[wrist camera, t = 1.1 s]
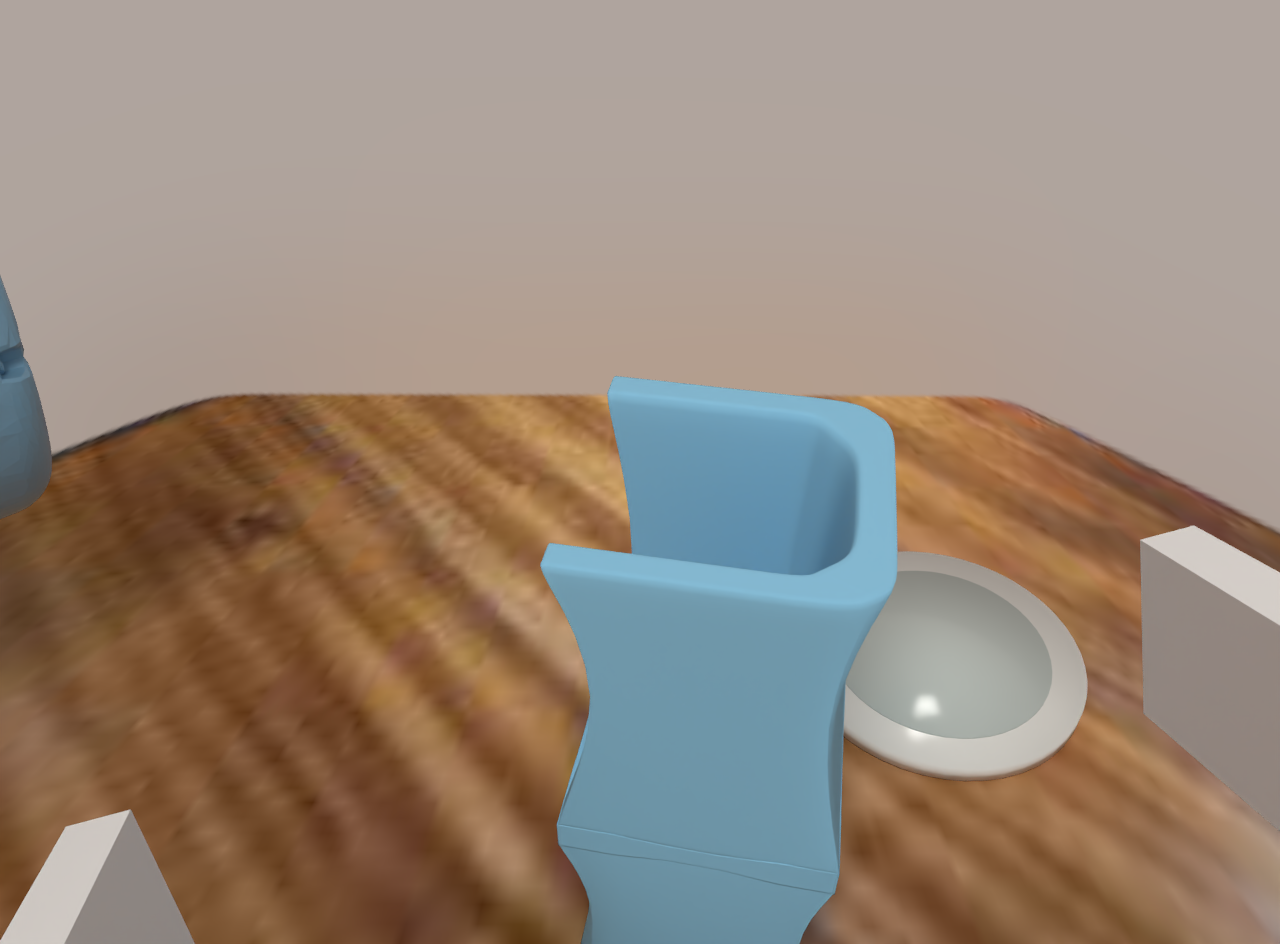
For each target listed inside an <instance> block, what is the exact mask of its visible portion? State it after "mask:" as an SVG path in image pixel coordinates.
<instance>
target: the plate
mask: <svg viewBox="0 0 1280 944" xmlns="http://www.w3.org/2000/svg"><path fill="white" fill-rule="evenodd" d="M1086 698H1087V676H1086V669H1085V665H1084V662H1083V659H1082V656H1081V653H1080V651H1079V649H1078V647H1077V645H1076V643H1075V641H1074V639H1073V637H1072V636H1071V634H1070V633H1069V631H1068V630H1067V628H1066V627H1065V625H1064V624H1063V623H1062V622H1061V621H1060V620H1059V618H1058V617H1057V616H1056V615H1055V614H1054V613H1053V612H1052V611H1051V610H1050V609H1049V608H1048V607H1047V606H1046V605H1045V604H1044V603H1043V602H1042V601H1041V600H1039V599H1038V598H1037V597H1035V596H1034V595H1033V594H1032V593H1030V592H1029V591H1028V590H1026V589H1025V588H1023V587H1021V586H1020V585H1018V584H1017V583H1015V582H1014V581H1012V580H1010V579H1008V578H1006V577H1004V576H1002V575H1001V574H999V573H997V572H994V571H992V570H990V569H987V568H985V567H983V566H980V565H977V564H974V563H971V562H968V561H965V560H962V559H958V558H954V557H950V556H945V555H939V554H933V553H924V552H897V577H896V582H895V585H894V588H893V590H892V593H891V595H890V596H889V598H888V600H887V602H886V603H885V605H884V607H883V608H882V610H881V612H880V613H879V615H878V617H877V618H876V620H875V622H874V623H873V625H872V627H871V629H870V630H869V632H868V634H867V636H866V638H865V640H864V642H863V644H862V645H861V647H860V649H859V651H858V653H857V655H856V657H855V660H854V662H853V664H852V667H851V669H850V671H849V674H848V676H847V678H846V685H845V710H844V733H843V736H844V737H845V738H846V739H847V740H849V741H850V742H852V743H853V744H855V745H856V746H858V747H859V748H861V749H862V750H864V751H865V752H867V753H869V754H871V755H873V756H875V757H876V758H878V759H880V760H882V761H885V762H887V763H889V764H892V765H894V766H896V767H899V768H901V769H904V770H908V771H911V772H914V773H917V774H920V775H925V776H930V777H935V778H940V779H947V780H957V781H987V780H994V779H1001V778H1006V777H1010V776H1014V775H1017V774H1021V773H1024V772H1026V771H1028V770H1031V769H1033V768H1035V767H1038V766H1039V765H1041V764H1042V763H1044V762H1046V761H1047V760H1049V759H1050V758H1052V757H1053V756H1054V755H1055V754H1056V753H1057V752H1058V751H1059V750H1061V749H1062V748H1063V747H1064V745H1065V744H1066V743H1067V741H1068V740H1069V739H1070V737H1071V736H1072V734H1073V732H1074V730H1075V728H1076V726H1077V724H1078V722H1079V719H1080V717H1081V715H1082V713H1083V710H1084V706H1085V702H1086Z"/></svg>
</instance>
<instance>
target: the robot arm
mask: <svg viewBox="0 0 1280 944" xmlns="http://www.w3.org/2000/svg"><path fill="white" fill-rule="evenodd" d="M23 352H24V348H23V345H22V342H21V339H20V336H19V332H18V326H17V322H16V319H15V316H14V313H13V310H12V307H11V304H10V301H9V299H8V296H7V293H6V290H5V288H4V285H3V282H2V279H1V277H0V519H2V518H4V517H7V516H9V515H12V514H15V513H17V512H19V511H22V510H24V509H26V508H27V507H29V506H30V505H32V504H33V503H34V502H35V501H36V500H37V499H38V498H39V497H40V496H41V495H42V494H43V492H44V491H45V489H46V487H47V485H48V483H49V480H50V477H51V472H52V455H51V447H50V441H49V436H48V431H47V426H46V422H45V417H44V413H43V409H42V405H41V401H40V398H39V394H38V391H37V388H36V384H35V381H34V378H33V374H32V372H31V369H30V367H29V365H28V362H27V361H26V360H25V358H24V357H23ZM1140 548H1141V600H1142V652H1143V705H1144V714H1145V715H1146V716H1147V717H1148V718H1149V719H1150V720H1152V721H1153V722H1154V723H1155V724H1156V725H1157V726H1158V727H1160V728H1161V729H1162V730H1163V731H1164V732H1165V733H1167V734H1168V735H1169V736H1170V737H1171V738H1172V739H1173V740H1175V741H1176V742H1177V743H1178V744H1179V745H1180V746H1182V747H1183V748H1184V749H1185V750H1186V751H1187V752H1188V753H1190V754H1191V755H1192V756H1193V757H1194V758H1195V759H1197V760H1198V761H1199V762H1200V763H1201V764H1202V765H1203V766H1205V767H1206V768H1207V769H1208V770H1209V771H1210V772H1212V773H1213V774H1214V775H1215V776H1216V777H1217V778H1218V779H1220V780H1221V781H1222V782H1223V783H1224V784H1225V785H1227V786H1228V787H1229V788H1230V789H1231V790H1232V791H1233V792H1235V793H1236V794H1237V795H1238V796H1239V797H1240V798H1242V799H1243V800H1244V801H1245V802H1246V803H1247V804H1248V805H1250V806H1251V807H1252V808H1253V809H1254V810H1255V811H1257V812H1258V813H1259V814H1260V815H1261V816H1262V817H1263V818H1265V819H1266V820H1267V821H1268V822H1269V823H1270V824H1272V825H1273V826H1274V827H1275V828H1276V829H1277V830H1278V831H1280V573H1279V572H1278V571H1276V570H1274V569H1272V568H1270V567H1268V566H1267V565H1265V564H1263V563H1261V562H1259V561H1258V560H1256V559H1254V558H1252V557H1250V556H1248V555H1247V554H1245V553H1243V552H1241V551H1239V550H1237V549H1236V548H1234V547H1232V546H1230V545H1228V544H1227V543H1225V542H1223V541H1221V540H1219V539H1217V538H1216V537H1214V536H1212V535H1210V534H1208V533H1206V532H1205V531H1203V530H1201V529H1199V528H1197V527H1196V526H1191V527H1187V528H1183V529H1179V530H1176V531H1172V532H1168V533H1164V534H1161V535H1157V536H1153V537H1149V538H1146V539H1142V540H1140ZM0 944H195V943H194V941H193V939H192V937H191V934H190V932H189V930H188V928H187V926H186V924H185V922H184V920H183V918H182V916H181V914H180V911H179V909H178V907H177V905H176V903H175V901H174V899H173V897H172V895H171V893H170V891H169V888H168V886H167V884H166V882H165V880H164V878H163V876H162V874H161V872H160V870H159V868H158V865H157V863H156V861H155V859H154V857H153V855H152V853H151V851H150V849H149V847H148V845H147V842H146V840H145V838H144V836H143V834H142V832H141V830H140V828H139V826H138V824H137V822H136V819H135V817H134V815H133V813H132V811H131V809H130V810H127V811H123V812H119V813H115V814H112V815H108V816H104V817H100V818H97V819H93V820H89V821H85V822H82V823H78V824H74V825H70V826H67V827H65V829H64V831H63V833H62V834H61V836H60V838H59V840H58V841H57V843H56V845H55V846H54V848H53V850H52V852H51V853H50V855H49V857H48V859H47V860H46V862H45V864H44V866H43V867H42V869H41V871H40V873H39V874H38V876H37V878H36V879H35V881H34V883H33V885H32V886H31V888H30V890H29V892H28V893H27V895H26V897H25V899H24V900H23V902H22V904H21V906H20V907H19V909H18V911H17V912H16V914H15V916H14V918H13V919H12V921H11V923H10V925H9V926H8V928H7V930H6V932H5V933H4V935H3V937H2V939H1V940H0Z"/></svg>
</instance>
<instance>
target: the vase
mask: <svg viewBox="0 0 1280 944" xmlns="http://www.w3.org/2000/svg"><path fill="white" fill-rule="evenodd" d="M608 404H609V409H610V414H611V419H612V424H613V428H614V433H615V437H616V442H617V446H618V451H619V456H620V461H621V466H622V472H623V477H624V482H625V489H626V495H627V502H628V509H629V516H630V529H631V543H632V554H628V553H621V552H613V551H606V550H598V549H591V548H583V547H576V546H569V545H561V544H554V543H550V544H549V545H548V546H547V549H546V552H545V554H544V557H543V559H542V562H541V564H540V565H541V569H542V572H543V574H544V576H545V578H546V580H547V582H548V584H549V586H550V588H551V590H552V591H553V593H554V595H555V597H556V599H557V600H558V602H559V604H560V606H561V607H562V609H563V611H564V613H565V615H566V617H567V619H568V622H569V624H570V626H571V628H572V630H573V632H574V634H575V637H576V640H577V643H578V646H579V649H580V652H581V655H582V658H583V661H584V663H585V668H586V674H587V680H588V686H589V692H590V707H589V717H588V720H587V724H586V727H585V731H584V734H583V738H582V741H581V744H580V747H579V751H578V754H577V757H576V761H575V764H574V767H573V770H572V774H571V777H570V780H569V784H568V787H567V791H566V794H565V798H564V801H563V805H562V808H561V812H560V815H559V819H558V822H557V832H558V844H559V845H560V847H561V848H562V850H563V851H564V853H565V854H566V856H567V857H568V859H569V860H570V861H571V863H572V864H573V866H574V868H575V869H576V871H577V873H578V875H579V876H580V878H581V881H582V883H583V885H584V887H585V889H586V892H587V895H588V899H589V911H588V916H587V920H586V924H585V928H584V933H583V937H582V941H581V944H800V941H801V938H802V935H803V933H804V931H805V929H806V928H807V926H808V924H809V922H810V921H811V919H812V918H813V917H814V915H815V914H816V913H817V912H818V910H819V909H820V908H821V907H822V906H823V905H824V904H825V903H826V901H827V900H828V899H829V898H830V897H831V896H832V895H834V894H835V890H836V886H837V882H838V878H839V869H840V839H841V800H842V762H843V733H844V710H845V685H846V678H847V676H848V674H849V671H850V669H851V667H852V664H853V662H854V660H855V657H856V655H857V653H858V651H859V649H860V647H861V645H862V644H863V642H864V640H865V638H866V636H867V634H868V632H869V630H870V629H871V627H872V625H873V623H874V622H875V620H876V618H877V617H878V615H879V613H880V612H881V610H882V608H883V607H884V605H885V603H886V602H887V600H888V598H889V596H890V595H891V593H892V590H893V588H894V585H895V582H896V577H897V514H896V473H895V446H894V438H893V433H892V430H891V428H890V426H889V425H888V424H887V422H886V421H885V420H884V419H882V418H881V417H879V416H878V415H876V414H875V413H873V412H872V411H870V410H868V409H866V408H864V407H862V406H859V405H856V404H851V403H847V402H841V401H835V400H828V399H821V398H813V397H804V396H795V395H786V394H777V393H767V392H758V391H749V390H740V389H730V388H721V387H712V386H702V385H693V384H684V383H675V382H666V381H656V380H646V379H638V378H628V377H619V376H615V377H614V378H613V380H612V383H611V385H610V388H609V390H608Z"/></svg>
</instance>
